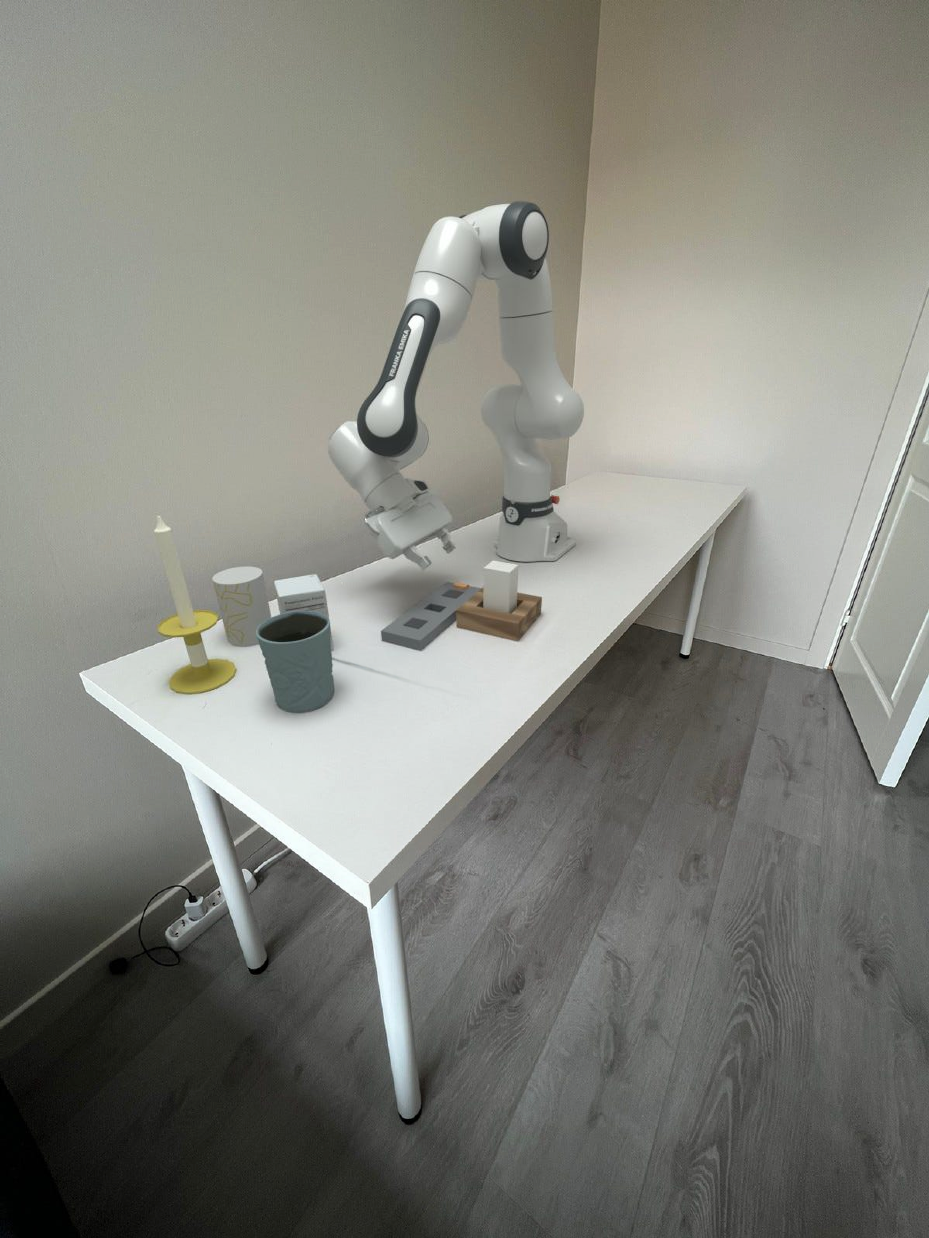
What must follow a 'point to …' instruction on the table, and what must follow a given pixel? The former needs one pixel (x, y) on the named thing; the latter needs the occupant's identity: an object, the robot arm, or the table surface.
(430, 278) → the robot arm
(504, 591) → the white rectangular block
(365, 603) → the table surface
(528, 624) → the square wooden tray
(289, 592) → the supplement box
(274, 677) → the teal plant pot
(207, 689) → the candle
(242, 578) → the cup
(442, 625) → the power strip
